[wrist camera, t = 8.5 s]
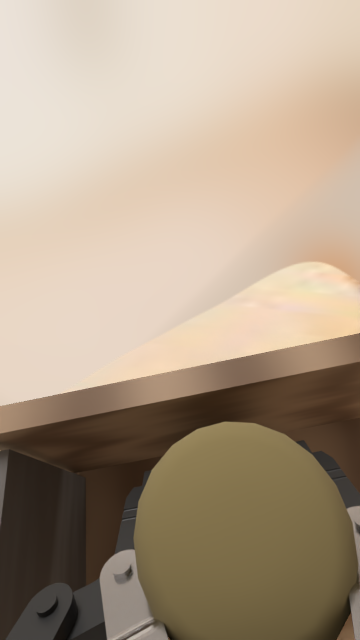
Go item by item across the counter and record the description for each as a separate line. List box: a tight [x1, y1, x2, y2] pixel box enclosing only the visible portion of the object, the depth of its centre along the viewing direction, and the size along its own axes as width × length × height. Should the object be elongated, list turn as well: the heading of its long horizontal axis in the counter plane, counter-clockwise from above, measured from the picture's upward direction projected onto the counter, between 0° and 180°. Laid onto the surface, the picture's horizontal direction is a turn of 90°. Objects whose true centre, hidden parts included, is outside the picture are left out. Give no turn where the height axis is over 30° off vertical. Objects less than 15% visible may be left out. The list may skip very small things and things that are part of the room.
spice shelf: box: [0, 333, 360, 640], centre depth 17 cm, size 20×10×12 cm, turn 99°
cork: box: [133, 422, 359, 640], centre depth 12 cm, size 6×6×11 cm
